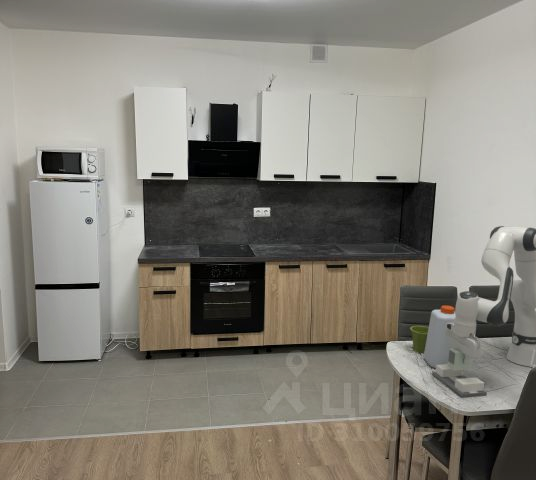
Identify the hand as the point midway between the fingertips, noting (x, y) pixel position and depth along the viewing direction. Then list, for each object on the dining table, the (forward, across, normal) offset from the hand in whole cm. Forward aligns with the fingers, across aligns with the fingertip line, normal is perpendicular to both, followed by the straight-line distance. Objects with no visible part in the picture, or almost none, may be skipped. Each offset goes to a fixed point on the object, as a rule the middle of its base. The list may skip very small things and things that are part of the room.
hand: (460, 360), depth 203 cm
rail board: (+11, 0, 0) cm, 11 cm away
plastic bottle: (+11, +21, -6) cm, 25 cm away
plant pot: (+11, +37, -4) cm, 39 cm away
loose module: (+3, 0, 0) cm, 3 cm away
